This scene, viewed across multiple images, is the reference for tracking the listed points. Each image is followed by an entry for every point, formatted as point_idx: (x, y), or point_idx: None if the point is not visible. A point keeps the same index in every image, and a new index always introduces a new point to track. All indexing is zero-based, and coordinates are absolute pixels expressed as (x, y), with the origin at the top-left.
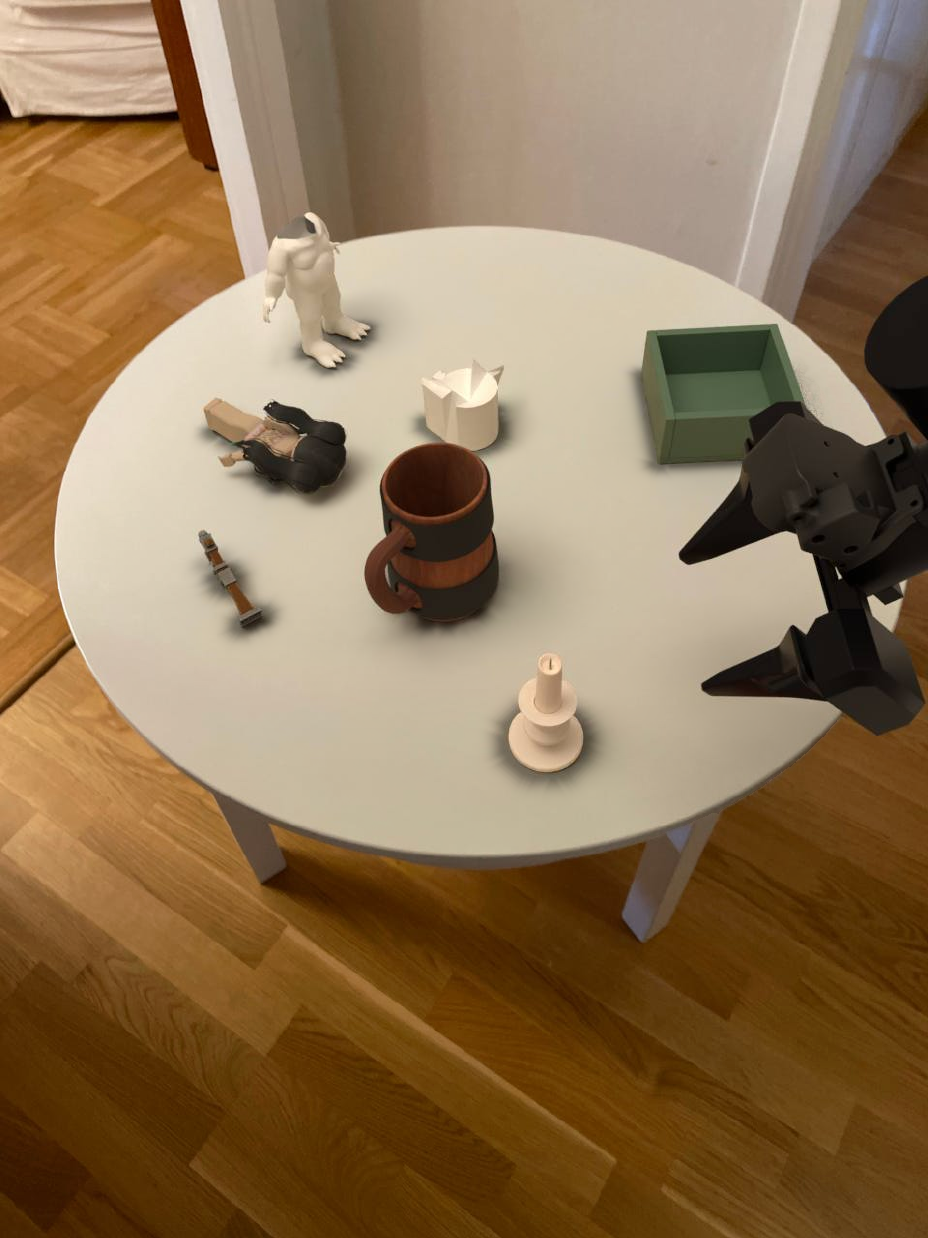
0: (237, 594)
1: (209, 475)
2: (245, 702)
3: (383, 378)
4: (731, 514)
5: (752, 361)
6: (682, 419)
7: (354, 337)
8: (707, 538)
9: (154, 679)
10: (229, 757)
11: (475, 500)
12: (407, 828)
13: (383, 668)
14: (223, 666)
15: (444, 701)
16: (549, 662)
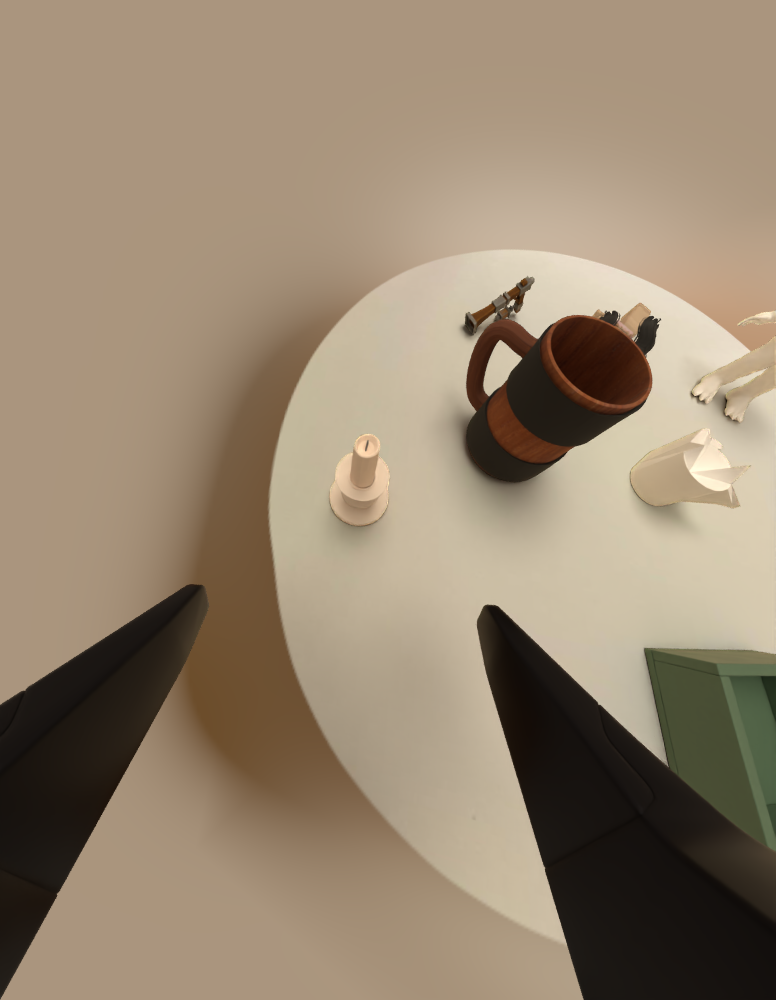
0: (485, 310)
1: None
2: (408, 322)
3: (690, 428)
4: (593, 758)
5: None
6: (721, 684)
7: (727, 410)
8: (521, 666)
9: (428, 281)
10: (370, 311)
11: (577, 390)
12: (302, 398)
13: (429, 398)
14: (435, 313)
15: (399, 432)
16: (371, 447)
